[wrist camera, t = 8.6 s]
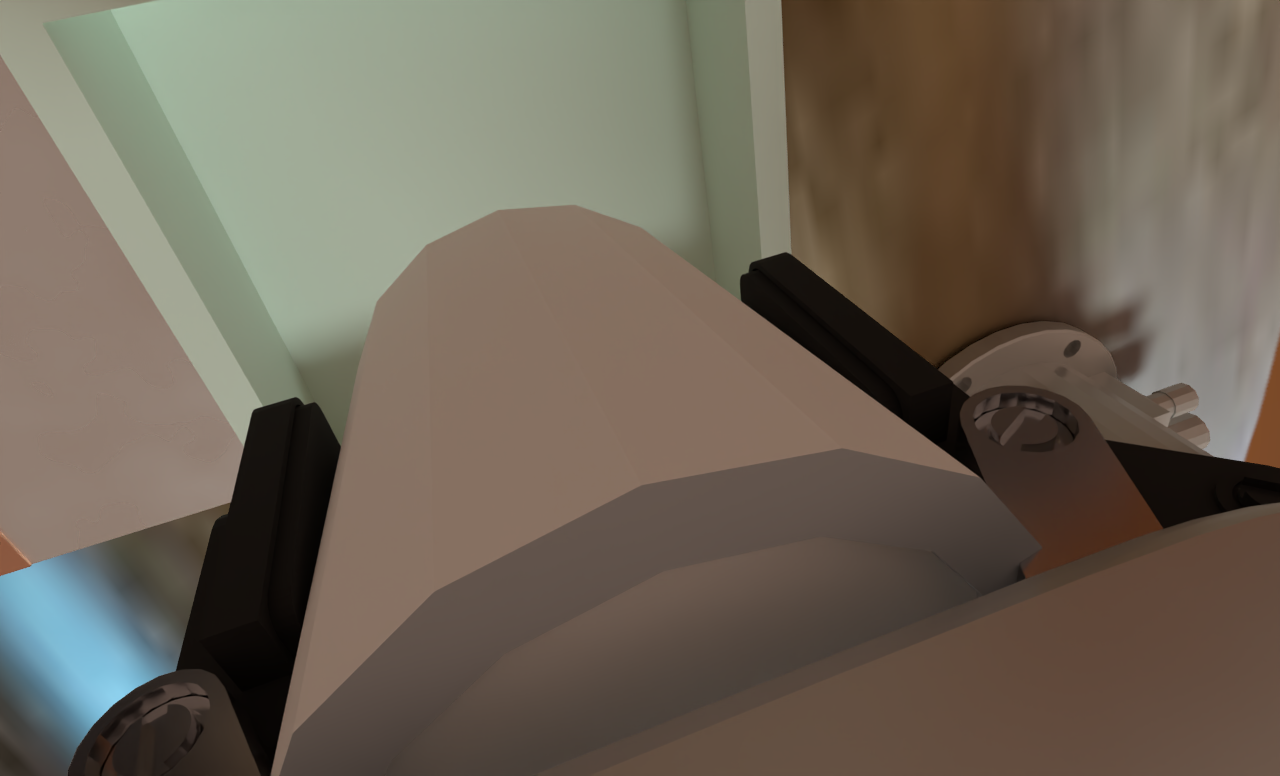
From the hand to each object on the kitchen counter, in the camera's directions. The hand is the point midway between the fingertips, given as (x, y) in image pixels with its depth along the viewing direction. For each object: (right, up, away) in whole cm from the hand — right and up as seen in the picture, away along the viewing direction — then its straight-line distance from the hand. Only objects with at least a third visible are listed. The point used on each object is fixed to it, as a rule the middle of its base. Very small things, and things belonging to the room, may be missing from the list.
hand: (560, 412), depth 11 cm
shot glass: (0, +1, +1) cm, 1 cm away
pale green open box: (-3, +6, +10) cm, 12 cm away
